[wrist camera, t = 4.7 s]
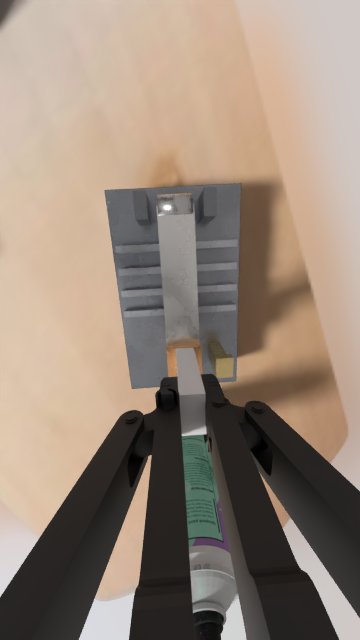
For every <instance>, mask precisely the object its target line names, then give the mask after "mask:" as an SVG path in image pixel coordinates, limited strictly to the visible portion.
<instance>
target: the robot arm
mask: <svg viewBox="0 0 360 640" xmlns="http://www.w3.org/2000/svg"><path fill="white" fill-rule="evenodd" d="M176 358H177V377H164V378H163V379H162V380H161V382H160V390H158V391H157V392H156V395H155V397H156V407H157V408H156V409H155V410H154V411H153V412H151V413H148V414H145V415H143V413H141V412H140V411H137V410H131V411H128V412H126V413H124V414H122V415H121V416H120V417H119V419H118V421H117V422H116V424H115V425H114V427H113V428H112V430H111V431H110V433H109V434H108V436H107V437H106V439H105V440H104V442H103V443H102V445H101V446H100V448H99V449H98V451H97V452H96V454H95V455H94V457H93V458H92V460H91V461H90V463H89V464H88V466H87V467H86V469H85V470H84V472H83V473H82V475H81V476H80V478H79V479H78V481H77V482H76V484H75V485H74V487H73V488H72V490H71V491H70V493H69V494H68V496H67V497H66V499H65V500H64V502H63V503H62V505H61V507H60V508H59V510H58V511H57V513H56V514H55V516H54V517H53V519H52V520H51V522H50V523H49V525H48V526H47V528H46V529H45V531H44V532H43V534H42V535H41V537H40V538H39V540H38V541H37V543H36V544H35V546H34V547H33V549H32V550H31V552H30V553H29V555H28V556H27V558H26V559H25V561H24V563H23V564H22V565H21V567H20V569H19V570H18V572H17V573H16V574H15V576H14V577H13V579H12V580H11V582H10V584H9V585H8V586H7V588H6V590H5V591H4V593H3V594H2V596H1V597H0V640H79V637H80V634H81V632H82V629H83V627H84V624H85V622H86V619H87V616H88V613H89V611H90V608H91V606H92V603H93V601H94V598H95V595H96V593H97V590H98V588H99V585H100V582H101V580H102V577H103V575H104V572H105V569H106V567H107V564H108V562H109V559H110V556H111V554H112V551H113V548H114V546H115V543H116V541H117V538H118V535H119V533H120V530H121V528H122V525H123V522H124V520H125V517H126V514H127V512H128V509H129V507H130V504H131V501H132V499H133V496H134V494H135V491H136V488H137V486H138V483H139V480H140V478H141V475H142V473H143V470H144V467H145V465H146V462H147V460H148V456H149V455H152V459H151V469H150V479H149V489H148V499H147V509H146V520H145V530H144V540H143V550H142V560H141V570H140V579H139V584H138V586H137V588H136V591H135V595H134V602H133V609H132V618H131V627H130V636H129V640H195V636H194V620H193V605H192V589H191V573H190V557H189V542H188V526H187V510H186V494H185V479H184V463H183V447H182V436H189V435H202V434H208V452H210V455H211V460H212V465H213V470H214V475H215V480H216V485H217V490H218V495H219V500H220V505H221V510H222V515H223V520H224V525H225V530H226V535H227V540H228V545H229V550H230V555H231V560H232V565H233V570H234V575H235V580H236V585H237V590H238V595H239V600H240V605H241V610H242V615H243V620H244V626H245V631H246V638H247V640H339V638H338V636H337V634H336V632H335V629H334V627H333V625H332V623H331V620H330V618H329V616H328V614H327V612H326V609H325V607H324V605H323V602H322V600H321V598H320V596H319V593H318V591H317V589H316V587H315V586H314V583H313V581H312V580H311V579H310V577H309V575H308V574H307V573H306V572H304V571H303V570H301V569H300V568H299V566H298V564H297V562H296V560H295V557H294V555H293V553H292V550H291V548H290V545H289V543H288V541H287V538H286V536H285V533H284V531H283V529H282V526H281V524H280V521H279V519H278V517H277V514H276V512H275V509H274V507H273V505H272V502H271V500H270V497H269V495H268V493H267V490H266V488H265V485H264V483H263V481H262V478H261V476H260V473H261V475H262V476H263V478H264V479H265V481H266V482H267V483H268V485H269V486H270V488H271V489H272V491H273V492H274V494H275V495H276V497H277V498H278V500H279V501H280V502H281V504H282V505H283V507H284V508H285V510H286V511H287V513H288V514H289V516H290V517H291V518H292V520H293V521H294V523H295V524H296V526H297V527H298V529H299V530H300V532H301V533H302V535H303V536H304V537H305V539H306V540H307V542H308V543H309V545H310V546H311V548H312V549H313V551H314V552H315V553H316V555H317V556H318V558H319V559H320V561H321V562H322V563H323V565H324V567H325V568H326V570H327V571H328V572H329V574H330V575H331V577H332V578H333V579H334V581H335V583H336V584H337V586H338V587H339V588H340V590H341V591H342V593H343V594H344V596H345V597H346V598H347V600H348V601H349V603H350V604H351V606H352V607H353V609H354V610H355V612H356V613H357V615H358V616H359V618H360V491H359V490H358V489H356V487H354V486H353V485H352V484H351V483H350V482H349V481H348V480H347V479H346V478H345V477H344V476H342V474H341V473H339V472H338V471H337V470H336V469H335V468H334V467H333V466H332V465H331V464H330V463H329V462H328V461H327V460H326V459H324V458H323V457H322V456H321V455H320V454H319V453H318V452H317V451H316V450H315V449H314V448H313V447H312V446H311V445H309V444H308V443H307V442H306V441H305V440H304V439H303V438H302V437H301V436H300V435H299V434H298V433H297V432H296V431H294V430H293V429H292V428H291V427H290V426H289V425H288V424H287V423H286V422H285V421H284V420H283V419H282V418H281V417H280V416H278V415H277V414H276V413H275V412H274V411H273V410H272V409H271V408H270V407H269V406H268V405H266V404H265V403H262V402H260V401H250V402H248V403H246V405H245V407H238V406H234V405H232V404H230V402H229V400H228V399H226V398H225V397H224V394H223V392H222V389H221V387H220V384H219V382H218V379H217V377H216V376H215V375H213V374H200V371H199V367H198V363H197V359H196V355H195V351H194V348H193V347H192V348H177V349H176ZM206 429H207V431H206ZM258 470H259V471H258ZM259 472H260V473H259Z"/></svg>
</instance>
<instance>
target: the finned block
mask: <svg viewBox="0 0 360 640" xmlns="http://www.w3.org/2000/svg"><path fill="white" fill-rule="evenodd" d="M181 193H193V204H194V212H195V238H196V264H197V289H198V315H199V340H200V344H201V350H202V374H213V375H215V376H216V377H217V379H218V382H219V383H220V382H234V381H236V370H237V328H238V286H239V244H240V201H241V184H221V185H201V186H180V187H159V188H138V189H117V190H105V197H106V204H107V212H108V219H109V226H110V233H111V241H112V248H113V255H114V263H115V270H116V277H117V285H118V292H119V299H120V306H121V314H122V321H123V328H124V336H125V343H126V350H127V357H128V365H129V372H130V379H131V387H132V389H138V388H151V387H160V382H161V380H162V379H163V378H164V377H168V364H167V351H166V346H167V342H166V329H165V315H164V302H163V289H162V275H161V262H160V248H159V235H158V222H157V208H156V206H157V195H160V194H181Z"/></svg>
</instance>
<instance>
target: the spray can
mask: <svg viewBox="0 0 360 640" xmlns="http://www.w3.org/2000/svg"><path fill="white" fill-rule="evenodd" d="M206 431H207V429H206ZM182 447H183V463H184V479H185V494H186V510H187V526H188V542H189V557H190V573H191V589H192V605H193V620H194V636H195V640H221V635H220V634H221V633H222V631H223V625H224V624H225V622H226V613H225V612H226V611H227V610H228V608H229V607H230V605H231V604H233V603H234V602H235V600H236V599H237V597H238V590H237V585H236V580H235V575H234V570H233V565H232V560H231V555H230V550H229V545H228V540H227V535H226V530H225V525H224V520H223V515H222V510H221V505H220V500H219V495H218V490H217V485H216V480H215V475H214V470H213V465H212V460H211V455H210V452H208V434H202V435H189V436H182Z"/></svg>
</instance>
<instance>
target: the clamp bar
mask: <svg viewBox="0 0 360 640" xmlns="http://www.w3.org/2000/svg"><path fill="white" fill-rule="evenodd" d="M156 208H157V222H158V235H159V248H160V262H161V275H162V289H163V302H164V315H165V329H166V342H167V346H166V351H167V364H168V377H177V358H176V349H177V348H192V347H193V348H194V351H195V355H196V359H197V363H198V367H199V371H200V374H202V350H201V344H200V340H199V315H198V289H197V264H196V238H195V212H194V204H193V193H181V194H160V195H157V206H156Z"/></svg>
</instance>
